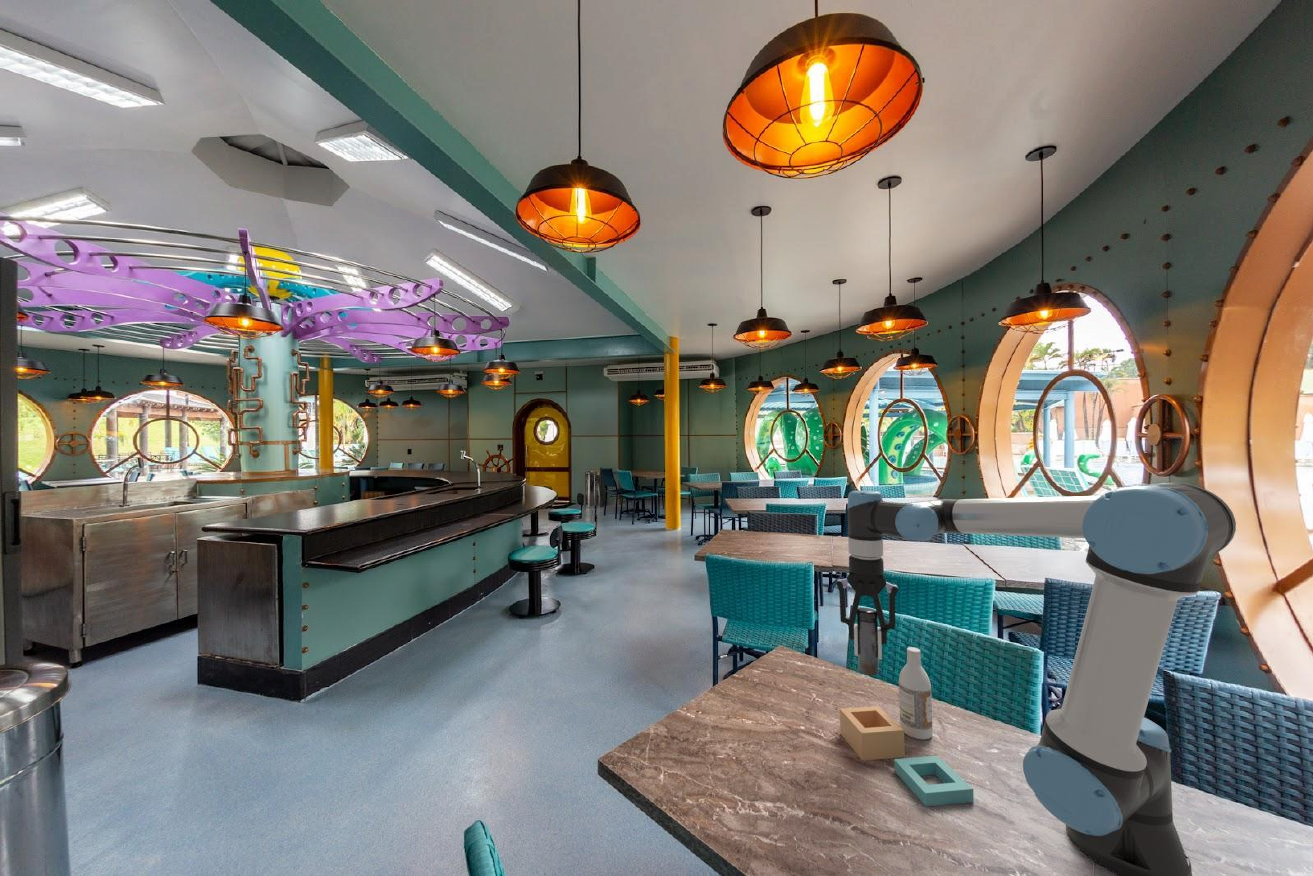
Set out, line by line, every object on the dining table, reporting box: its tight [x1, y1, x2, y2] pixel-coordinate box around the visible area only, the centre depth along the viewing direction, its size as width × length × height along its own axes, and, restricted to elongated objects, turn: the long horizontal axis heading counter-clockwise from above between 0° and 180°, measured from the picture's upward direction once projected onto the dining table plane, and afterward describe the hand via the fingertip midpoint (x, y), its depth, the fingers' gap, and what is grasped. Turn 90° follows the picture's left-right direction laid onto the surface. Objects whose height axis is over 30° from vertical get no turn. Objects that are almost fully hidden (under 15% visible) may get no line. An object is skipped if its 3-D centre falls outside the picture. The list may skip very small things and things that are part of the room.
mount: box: [893, 755, 975, 807], centre depth 95 cm, size 10×10×2 cm
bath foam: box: [898, 646, 934, 740], centre depth 114 cm, size 7×7×20 cm
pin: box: [856, 607, 880, 676], centre depth 110 cm, size 4×4×14 cm
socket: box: [839, 705, 906, 761], centre depth 109 cm, size 10×10×6 cm
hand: (868, 655), depth 109 cm, fingers closed on pin, 4 cm apart
